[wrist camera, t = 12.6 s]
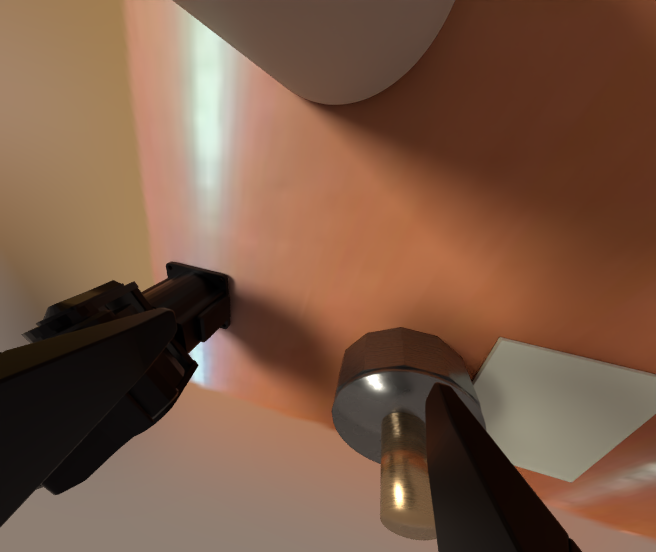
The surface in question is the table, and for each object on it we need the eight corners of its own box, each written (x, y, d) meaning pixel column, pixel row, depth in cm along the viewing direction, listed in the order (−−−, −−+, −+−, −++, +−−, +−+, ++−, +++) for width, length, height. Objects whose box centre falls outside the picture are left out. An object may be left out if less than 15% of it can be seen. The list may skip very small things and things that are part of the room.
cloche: (333, 398, 28) (305, 529, 18) (353, 315, 22) (329, 436, 12) (439, 430, 26) (472, 591, 16) (488, 348, 21) (582, 516, 11)
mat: (437, 438, 27) (438, 442, 27) (499, 336, 20) (501, 340, 20) (568, 478, 25) (571, 482, 25) (684, 381, 19) (690, 385, 18)
